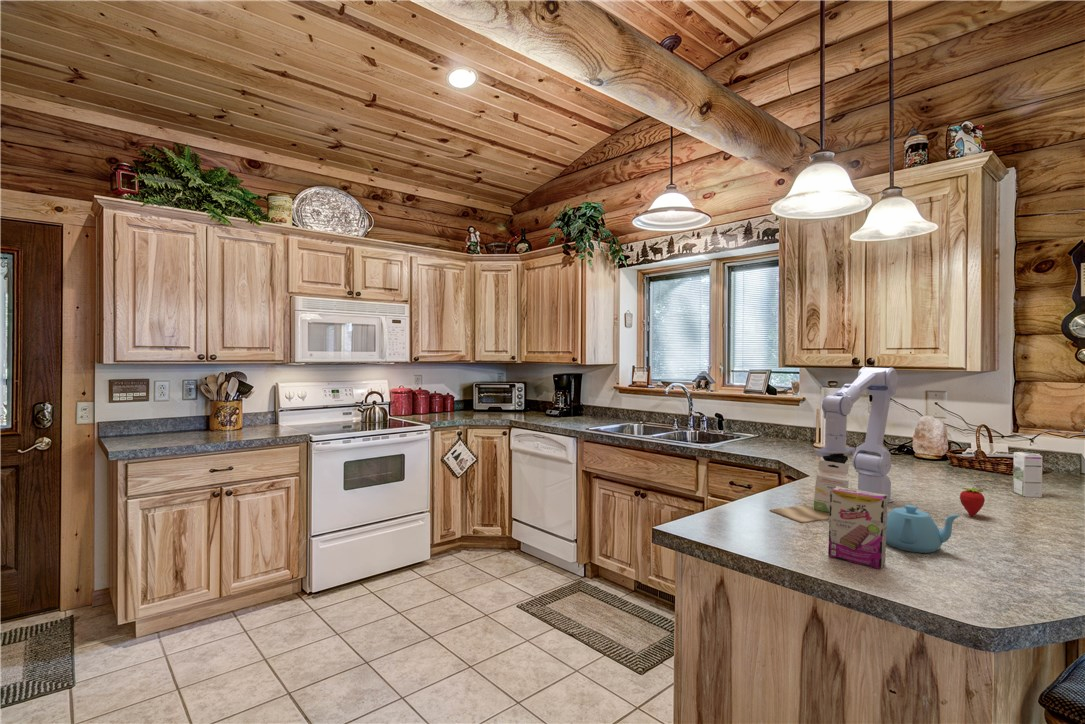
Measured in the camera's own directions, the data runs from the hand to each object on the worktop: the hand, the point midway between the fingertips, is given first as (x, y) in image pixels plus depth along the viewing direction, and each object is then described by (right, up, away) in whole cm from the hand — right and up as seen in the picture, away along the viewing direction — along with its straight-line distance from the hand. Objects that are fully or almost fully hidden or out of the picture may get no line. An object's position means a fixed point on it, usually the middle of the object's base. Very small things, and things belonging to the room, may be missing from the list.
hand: (834, 478), depth 165 cm
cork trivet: (-12, -10, -4) cm, 16 cm away
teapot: (+3, -11, -30) cm, 32 cm away
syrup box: (+78, -10, +20) cm, 81 cm away
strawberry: (+39, -11, -4) cm, 41 cm away
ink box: (-2, -9, -1) cm, 10 cm away
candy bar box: (-16, -11, -39) cm, 44 cm away
